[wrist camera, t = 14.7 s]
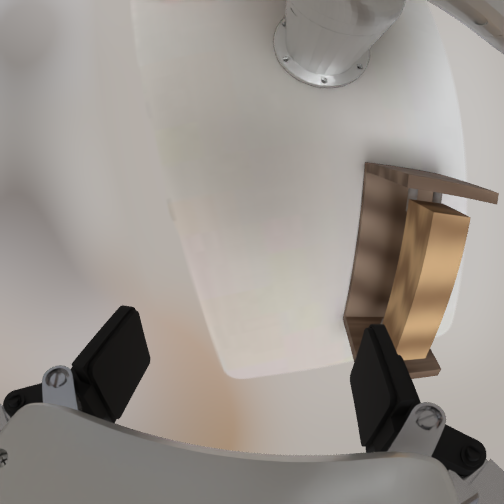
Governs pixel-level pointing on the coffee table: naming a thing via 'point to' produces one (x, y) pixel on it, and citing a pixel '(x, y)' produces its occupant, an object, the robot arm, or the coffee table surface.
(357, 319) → the shelf frame
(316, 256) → the coffee table surface
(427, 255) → the shelf board
